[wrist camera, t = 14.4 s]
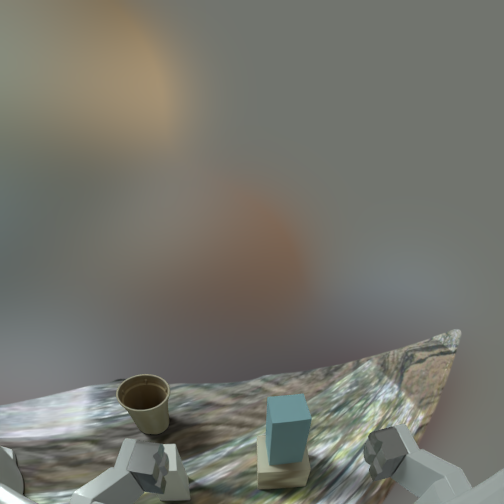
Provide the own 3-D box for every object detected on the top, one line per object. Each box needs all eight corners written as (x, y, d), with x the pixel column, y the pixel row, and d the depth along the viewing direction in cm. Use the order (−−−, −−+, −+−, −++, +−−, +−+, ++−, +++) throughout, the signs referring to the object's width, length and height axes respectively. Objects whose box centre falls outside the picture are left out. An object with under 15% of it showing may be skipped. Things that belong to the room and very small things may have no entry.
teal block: (269, 465, 31) (272, 423, 28) (265, 441, 35) (267, 397, 32) (301, 461, 31) (311, 418, 28) (296, 438, 35) (303, 393, 32)
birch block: (257, 489, 31) (258, 472, 29) (256, 455, 38) (256, 435, 36) (305, 486, 31) (310, 468, 30) (299, 453, 38) (304, 432, 36)
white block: (160, 500, 28) (140, 470, 25) (159, 477, 32) (142, 444, 29) (190, 500, 29) (176, 470, 26) (188, 477, 33) (175, 443, 30)
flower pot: (186, 413, 47) (178, 380, 44) (166, 448, 38) (154, 417, 36) (143, 401, 49) (133, 369, 46) (120, 432, 40) (106, 400, 38)
